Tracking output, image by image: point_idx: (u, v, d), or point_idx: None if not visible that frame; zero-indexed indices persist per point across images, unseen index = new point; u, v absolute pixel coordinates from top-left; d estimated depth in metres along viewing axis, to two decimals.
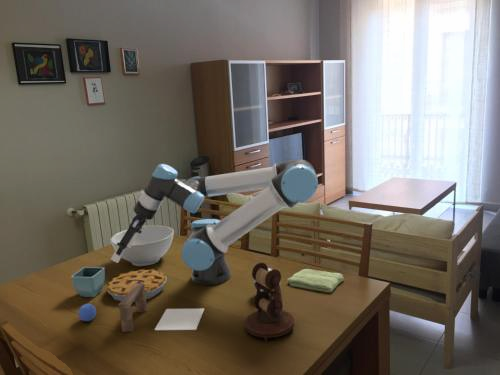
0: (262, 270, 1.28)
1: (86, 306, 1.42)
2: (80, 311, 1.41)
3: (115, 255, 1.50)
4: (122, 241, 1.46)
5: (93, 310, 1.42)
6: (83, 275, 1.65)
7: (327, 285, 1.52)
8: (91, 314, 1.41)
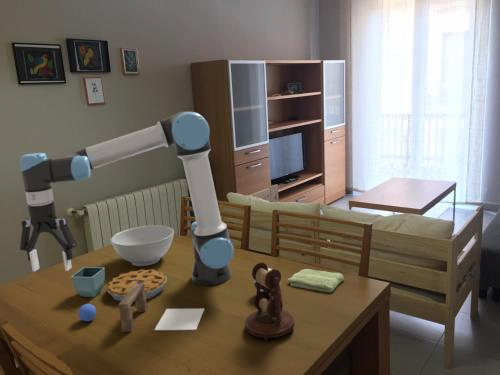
0: (262, 270, 1.28)
1: (86, 306, 1.42)
2: (80, 311, 1.41)
3: (67, 263, 1.39)
4: (71, 242, 1.38)
5: (93, 310, 1.42)
6: (83, 275, 1.65)
7: (327, 285, 1.52)
8: (91, 314, 1.41)
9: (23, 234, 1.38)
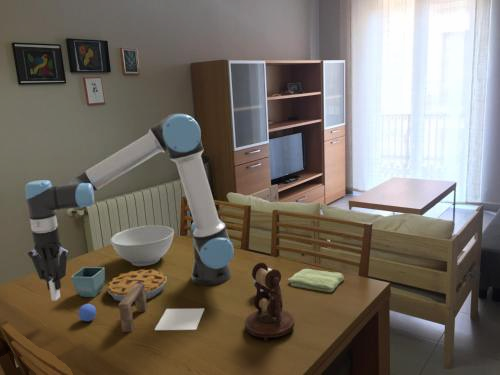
0: (262, 270, 1.28)
1: (86, 306, 1.42)
2: (80, 311, 1.41)
3: (56, 293, 1.42)
4: (62, 273, 1.40)
5: (93, 310, 1.42)
6: (83, 275, 1.65)
7: (328, 285, 1.52)
8: (91, 314, 1.41)
9: (35, 264, 1.40)
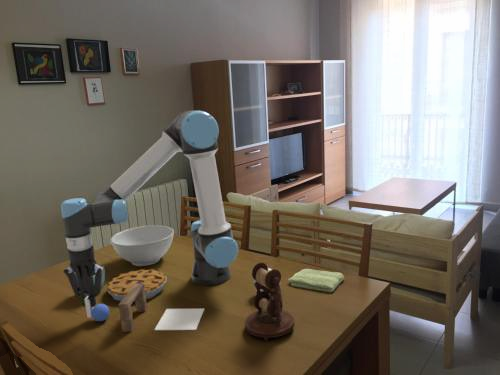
0: (262, 270, 1.28)
1: (106, 312, 1.41)
2: (99, 311, 1.40)
3: (91, 310, 1.42)
4: (98, 290, 1.41)
5: (106, 318, 1.42)
6: None
7: (328, 285, 1.52)
8: (102, 320, 1.41)
9: (71, 281, 1.40)
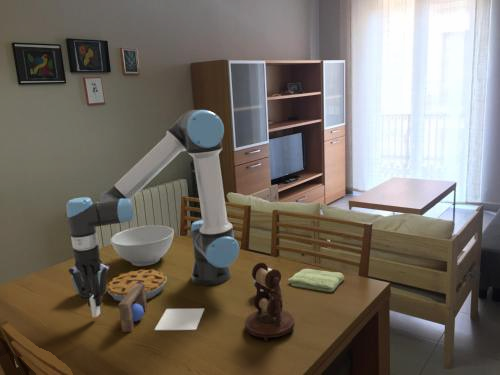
0: (262, 270, 1.28)
1: None
2: None
3: (96, 309, 1.42)
4: (103, 290, 1.40)
5: (135, 305, 1.40)
6: None
7: (328, 285, 1.52)
8: (136, 309, 1.39)
9: (76, 281, 1.40)
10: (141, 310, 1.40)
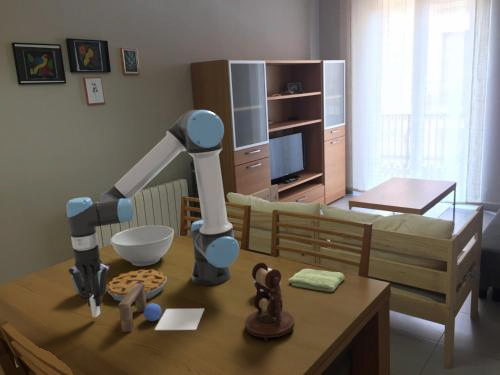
0: (262, 270, 1.28)
1: (159, 312, 1.39)
2: (153, 310, 1.38)
3: (96, 309, 1.42)
4: (103, 290, 1.40)
5: (157, 318, 1.40)
6: None
7: (329, 284, 1.52)
8: (154, 320, 1.39)
9: (76, 281, 1.40)
10: None
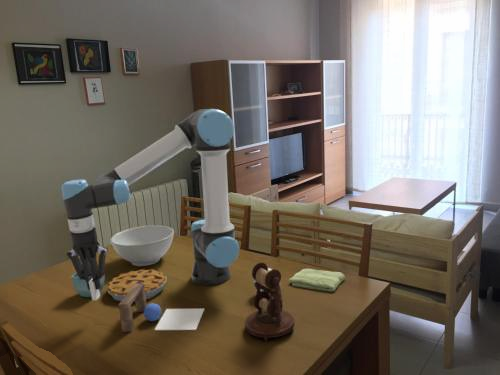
0: (262, 270, 1.28)
1: (159, 312, 1.39)
2: (153, 310, 1.38)
3: (96, 292, 1.41)
4: (102, 272, 1.39)
5: (157, 318, 1.40)
6: None
7: (329, 284, 1.52)
8: (154, 320, 1.39)
9: (74, 264, 1.39)
10: None
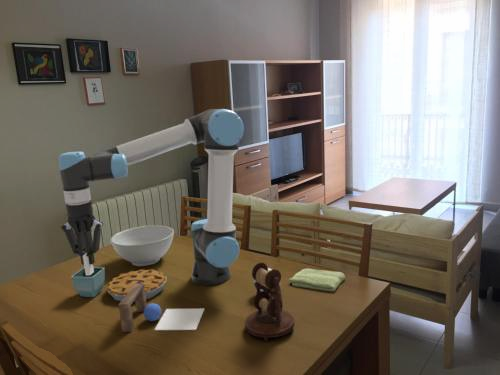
0: (262, 270, 1.28)
1: (159, 312, 1.39)
2: (153, 310, 1.38)
3: (90, 267, 1.39)
4: (96, 247, 1.37)
5: (157, 318, 1.40)
6: (83, 275, 1.65)
7: (330, 284, 1.52)
8: (154, 320, 1.39)
9: (69, 238, 1.37)
10: None
